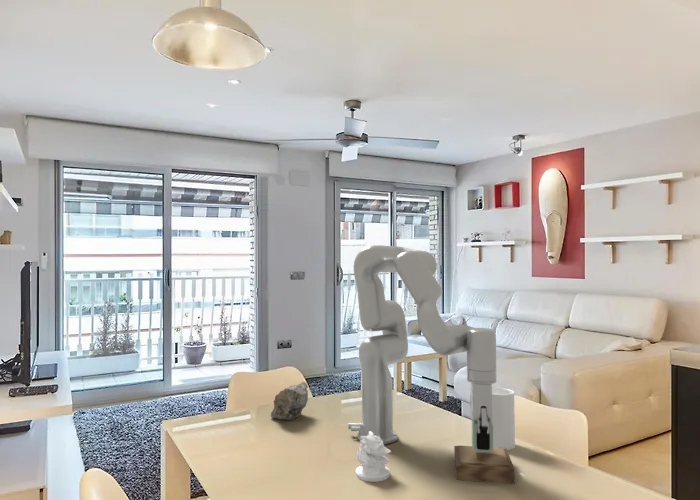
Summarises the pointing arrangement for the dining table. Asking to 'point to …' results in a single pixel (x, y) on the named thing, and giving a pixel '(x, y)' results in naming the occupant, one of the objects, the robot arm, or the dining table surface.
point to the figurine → (372, 459)
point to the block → (474, 436)
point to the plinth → (483, 465)
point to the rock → (290, 402)
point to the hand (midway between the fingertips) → (482, 444)
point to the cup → (503, 418)
